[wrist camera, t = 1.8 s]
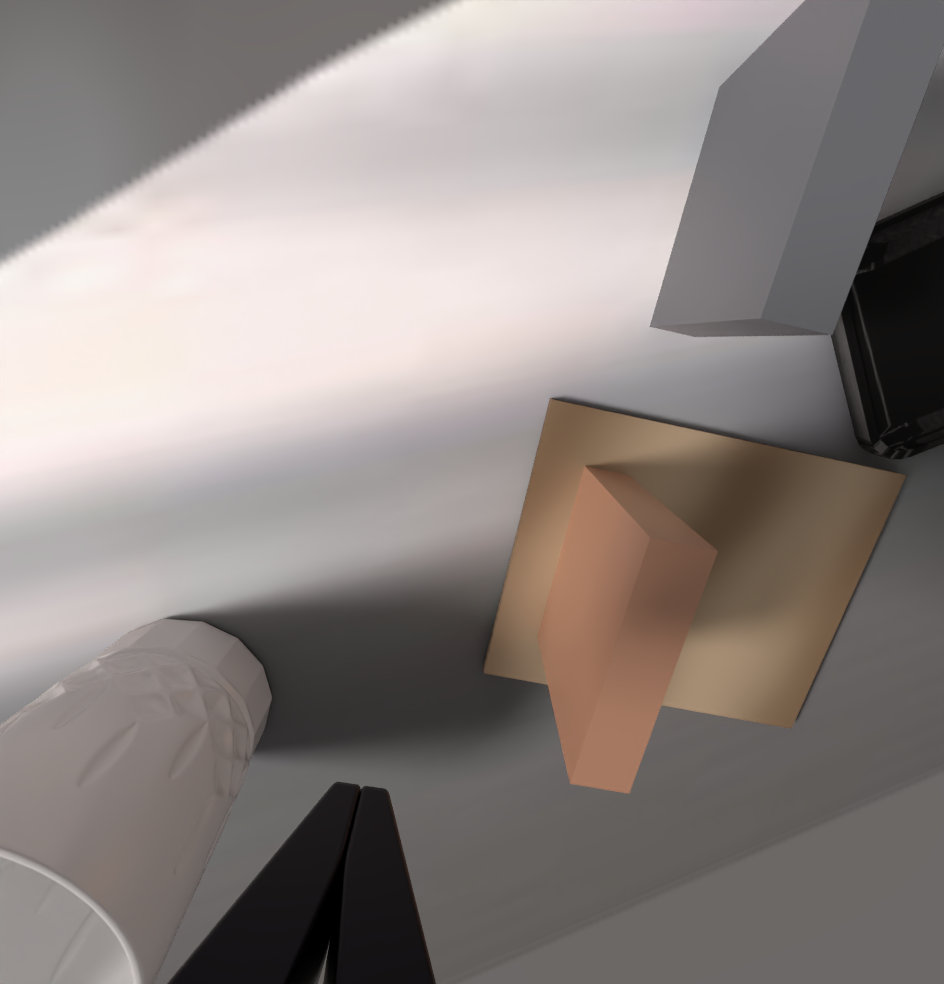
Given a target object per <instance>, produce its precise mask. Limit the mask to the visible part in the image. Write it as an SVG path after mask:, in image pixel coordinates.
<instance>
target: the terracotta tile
mask: <svg viewBox="0 0 944 984" xmlns="http://www.w3.org/2000/svg"><path fill="white" fill-rule="evenodd" d="M717 552H718V551H717V550H716V549H715V548H714V547H713V546H711V545H710V544H709V543H708V542H707V541H705V540H704V539H703V538H702V537H701V536H700V535H698V534H697V533H696V532H695V531H694V530H693V529H691V528H690V527H689V526H688V525H687V524H686V523H684V522H683V521H682V520H681V519H680V518H678V517H677V516H676V515H675V514H674V513H673V512H671V511H670V510H669V509H668V508H667V507H666V506H664V505H663V504H662V503H661V502H660V501H658V500H657V499H656V498H655V497H654V496H653V495H651V494H650V493H649V492H648V491H647V490H646V489H644V488H643V487H642V486H641V485H640V484H639V483H637V482H636V481H635V480H634V479H633V478H631V477H630V476H629V475H627V474H622V473H618V472H613V471H608V470H603V469H598V468H593V467H589V466H584V470H583V473H582V477H581V481H580V484H579V488H578V491H577V495H576V499H575V502H574V506H573V509H572V513H571V517H570V520H569V524H568V527H567V531H566V535H565V538H564V542H563V546H562V549H561V553H560V556H559V560H558V564H557V567H556V571H555V574H554V578H553V582H552V585H551V589H550V592H549V596H548V600H547V603H546V607H545V610H544V614H543V618H542V621H541V625H540V629H539V632H538V636H537V639H538V644H539V648H540V653H541V657H542V661H543V666H544V670H545V675H546V679H547V684H548V688H549V692H550V697H551V701H552V706H553V710H554V714H555V719H556V723H557V728H558V732H559V737H560V741H561V745H562V750H563V754H564V759H565V763H566V768H567V772H568V776H569V781H570V784H575V785H581V786H587V787H593V788H599V789H605V790H611V791H617V792H623V793H629V792H630V790H631V787H632V784H633V782H634V779H635V776H636V773H637V771H638V768H639V765H640V762H641V760H642V757H643V754H644V752H645V749H646V746H647V743H648V741H649V738H650V735H651V732H652V730H653V727H654V724H655V722H656V719H657V716H658V713H659V711H660V708H661V705H662V702H663V700H664V697H665V694H666V692H667V689H668V686H669V683H670V681H671V678H672V675H673V672H674V670H675V667H676V664H677V662H678V659H679V656H680V653H681V651H682V648H683V645H684V642H685V640H686V637H687V634H688V632H689V629H690V626H691V623H692V621H693V618H694V615H695V612H696V610H697V607H698V604H699V602H700V599H701V596H702V593H703V591H704V588H705V585H706V582H707V580H708V577H709V574H710V572H711V569H712V566H713V563H714V561H715V558H716V555H717Z"/></svg>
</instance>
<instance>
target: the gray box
mask: <svg viewBox="0 0 944 984" xmlns="http://www.w3.org/2000/svg"><path fill="white" fill-rule="evenodd" d="M943 46H944V0H805V1H804V2H803V3H802V4H801V5H800V6H799V7H798V8H797V9H796V10H795V11H794V12H793V13H792V14H791V15H790V16H789V17H788V18H787V19H786V20H785V21H784V22H783V23H782V24H781V25H780V26H779V27H778V28H777V29H776V30H775V31H774V32H773V33H772V34H771V35H770V36H769V37H768V38H767V40H766V41H765V42H764V43H763V44H762V45H761V46H760V47H759V48H758V49H757V50H756V51H755V52H754V53H753V54H752V55H751V56H750V57H749V58H748V59H747V60H746V61H745V62H744V63H743V64H742V65H741V66H740V67H739V68H738V69H737V70H736V71H735V72H734V73H733V74H732V75H731V76H730V77H729V78H728V79H727V80H726V81H725V82H724V83H723V84H722V85H721V86H720V87H719V90H718V94H717V97H716V101H715V104H714V108H713V111H712V115H711V118H710V121H709V125H708V128H707V132H706V135H705V139H704V142H703V145H702V149H701V152H700V156H699V159H698V163H697V166H696V170H695V173H694V176H693V180H692V183H691V187H690V190H689V194H688V197H687V201H686V204H685V207H684V211H683V214H682V218H681V221H680V225H679V228H678V232H677V235H676V238H675V242H674V245H673V249H672V252H671V256H670V259H669V262H668V266H667V269H666V273H665V276H664V280H663V283H662V287H661V290H660V293H659V297H658V300H657V304H656V307H655V311H654V314H653V318H652V321H651V324H650V327H654V328H658V329H662V330H667V331H671V332H676V333H680V334H685V335H689V336H694V337H723V336H795V335H833V332H834V329H835V327H836V324H837V322H838V319H839V316H840V314H841V311H842V309H843V306H844V303H845V301H846V298H847V296H848V293H849V290H850V288H851V285H852V283H853V280H854V277H855V275H856V272H857V270H858V267H859V264H860V262H861V259H862V257H863V254H864V251H865V249H866V246H867V244H868V241H869V238H870V236H871V233H872V231H873V228H874V225H875V223H876V220H877V218H878V215H879V212H880V210H881V207H882V205H883V202H884V199H885V197H886V194H887V192H888V189H889V186H890V184H891V181H892V179H893V176H894V173H895V171H896V168H897V166H898V163H899V160H900V158H901V155H902V153H903V150H904V147H905V145H906V142H907V140H908V137H909V134H910V132H911V129H912V126H913V124H914V121H915V119H916V116H917V113H918V111H919V108H920V106H921V103H922V100H923V98H924V95H925V93H926V90H927V87H928V85H929V82H930V80H931V77H932V74H933V72H934V69H935V67H936V64H937V61H938V59H939V56H940V54H941V51H942V48H943Z"/></svg>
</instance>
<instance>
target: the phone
mask: <svg viewBox="0 0 944 984" xmlns="http://www.w3.org/2000/svg"><path fill="white" fill-rule="evenodd" d="M831 338H832V342H833V346H834V350H835V354H836V358H837V363H838V367H839V371H840V375H841V379H842V383H843V387H844V391H845V396H846V400H847V404H848V408H849V412H850V416H851V420H852V425H853V429H854V433H855V436H856V439H857V441H858V443H859V445H860V446H861V447H862V448H863V449H864V450H865V451H868V452H870V453H873V454H875V455H879V456H882V457H886V458H889V459H903V458H907V457H911V456H914V455H916V454H919V453H921V452H924V451H926V450H929V449H931V448H934V447H936V446H939V445H941V444H944V192H942V193H940V194H938V195H936V196H933V197H931V198H929V199H927V200H924V201H922V202H920V203H918V204H916V205H913V206H911V207H909V208H907V209H904V210H902V211H900V212H898V213H895V214H893V215H891V216H889V217H887V218H884V219H882V220H880V221H878V222H876V223H875V225H874V228H873V231H872V233H871V236H870V238H869V241H868V244H867V246H866V249H865V251H864V254H863V257H862V259H861V262H860V264H859V267H858V270H857V272H856V275H855V277H854V280H853V283H852V285H851V288H850V290H849V293H848V296H847V298H846V301H845V303H844V306H843V309H842V311H841V314H840V316H839V319H838V322H837V324H836V327H835V329H834V332H833V335H831Z"/></svg>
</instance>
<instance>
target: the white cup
mask: <svg viewBox="0 0 944 984" xmlns="http://www.w3.org/2000/svg"><path fill="white" fill-rule="evenodd" d="M271 701H272V695H271V691H270V688H269V684H268V681H267V678H266V674H265V671H264V667H263V665H262V664H261V663H260V662H259V661H258V660H257V659H256V657H255V656H254V655H253V654H252V653H251V652H250V651H249V650H248V649H247V647H246V646H245V645H244V644H243V643H242V642H241V641H240V640H239V639H238V638H236V637H234V636H232V635H230V634H228V633H226V632H224V631H222V630H219V629H217V628H215V627H213V626H211V625H209V624H207V623H205V622H202V621H188V620H173V619H162V620H159V621H156V622H154V623H151V624H148V625H146V626H143V627H140V628H137V629H135V630H132V631H130V632H128V633H126V634H125V635H124V636H122V637H121V638H120V639H119V640H117V641H116V642H115V643H113V644H112V645H111V646H110V647H108V648H107V649H106V650H104V651H103V652H102V653H101V654H99V655H98V656H97V657H96V658H94V659H93V660H92V661H91V662H89V663H88V664H86V665H84V666H82V667H81V668H79V669H77V670H76V671H74V672H73V673H71V674H69V675H68V676H66V677H65V678H63V679H62V680H60V681H59V682H58V683H56V684H55V685H54V686H52V687H51V688H50V689H48V690H47V691H46V692H45V693H43V694H42V695H41V696H40V697H38V698H37V699H36V700H34V701H33V702H31V703H30V704H28V705H27V706H25V707H24V708H22V709H21V710H19V711H18V712H16V713H15V714H13V715H12V716H11V717H9V718H8V719H7V720H6V721H4V722H3V723H2V724H0V984H154V982H155V979H156V977H157V975H158V973H159V971H160V968H161V966H162V964H163V962H164V959H165V957H166V955H167V953H168V950H169V948H170V946H171V944H172V941H173V939H174V937H175V935H176V933H177V930H178V928H179V926H180V924H181V921H182V919H183V917H184V915H185V913H186V910H187V908H188V906H189V904H190V902H191V899H192V897H193V895H194V893H195V891H196V888H197V886H198V884H199V882H200V880H201V877H202V875H203V873H204V871H205V869H206V866H207V864H208V862H209V860H210V858H211V855H212V853H213V851H214V849H215V847H216V844H217V842H218V840H219V838H220V835H221V833H222V831H223V828H224V826H225V824H226V821H227V819H228V816H229V814H230V811H231V809H232V806H233V803H234V801H235V799H236V797H237V794H238V792H239V790H240V788H241V785H242V783H243V781H244V778H245V776H246V773H247V770H248V767H249V762H250V759H251V757H252V755H253V753H254V751H255V748H256V746H257V744H258V742H259V740H260V738H261V736H262V734H263V731H264V729H265V726H266V722H267V718H268V714H269V710H270V705H271Z"/></svg>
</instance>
